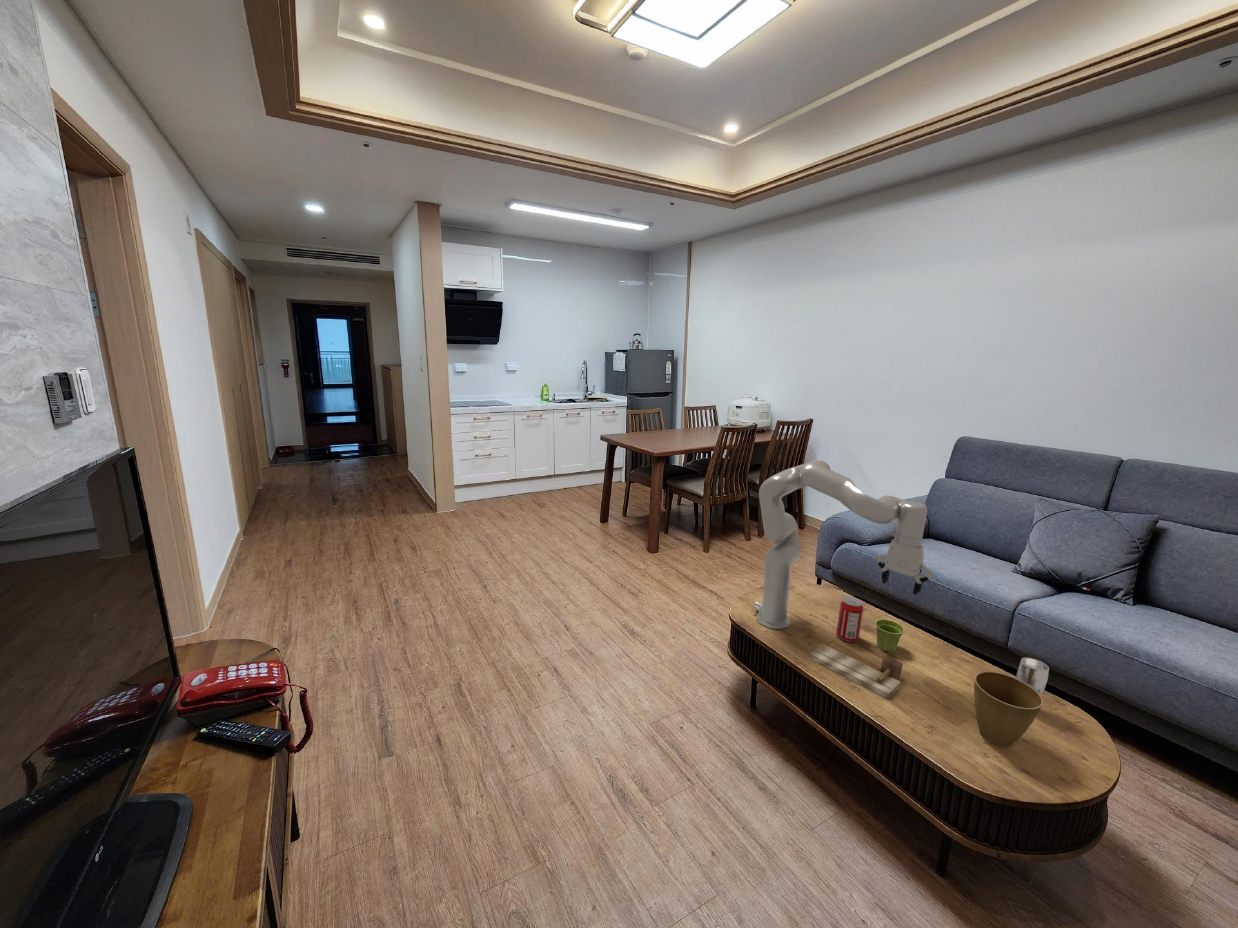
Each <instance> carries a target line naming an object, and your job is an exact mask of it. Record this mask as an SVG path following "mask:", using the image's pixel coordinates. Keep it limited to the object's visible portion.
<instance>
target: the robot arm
mask: <svg viewBox="0 0 1238 928" xmlns="http://www.w3.org/2000/svg"><path fill="white" fill-rule="evenodd" d="M806 487H809V488H811V489H813V490H815V491H817V492H820V493H822V494H824V495H826V496H829V497H830V498H832V499H834V500H837V501H838V502H840V503H841V505H843V506H845V507H846V508H847V509H848V510H850V511H851V512H852V513H854V514H855V515H857V516H860V517H862V518H863V519H865V520H868V521H870V522H873V523H875V524H877V525H888V524H890V523H892V522H893V521H894V520H895V519H896V520H897V526H896V531H891V532H890V535H891V536H893V537H894V538H893V539H892V540H891V541H890V543H889V547H888V550H887V552H886V553H885V554H878V555H877V556H875V558H876V561H877V565H878V566H879V568H880V569H881V570H880V571H881V581H882V584H886V583H888V582H889V577H890V571H891V572H892V571H893V572H896V573H897V574H901V575H903V576H906V577H911V578H914V580H915V581H916V582H914V587H913V590H912V591H913V592H912V594H913V595H915V596H916V595H918V593H921V591H922V586H923V583H925V582H928V581H929V580H930V579H931V578H932V577H933V576H934V575H935V574H934V572H933V571H932V570H930V569H929V567H927V566H926V565H924V546H923V545H922V542H923V537H924V532H925V531H924V530H925V526H926V521H927V520H926V519H927V514H928V507H927V505H926V504H924V503H922V502H919V501H912V500H905V499H902V498H899V497H896V496H893V495H883V496H881V497H879V498H876V497H875V498H874V497H872V496H870V495H868V494H866V493H864V492H863V491H861V489H859V488H858V487H857V486H856V484H855V483H854V481H853V480H852V479H851V478H850V477H848V476H845V475H843V474H840V473H839V472H836V471H834V470H832V469H831V467H830V464H828V463H827V462H825V461H824V460H821V459H815V460H812V461H809V462H805V463H803V464H800V465H797V466H793V467H791V468H787V469H784V470H782V471H780V472H778V473H776V474H774V475H772V476H770V477H768V478H767V479H766V480H764V481H763V482H762V484H761V485H760V487H759V492H758V497H759V498H758V499H759V505H760V512H761V519H762V520H761V521H762V525H763V526H762V527H763V532H764V536H765V539H767V541H769V543H773V544H774V545H773V546H771V547H770V548H769V549H768V550H767V552H766V553H765V556H764V580H763V581H764V582H763V583H764V584H763V592H762V600H761V601H762V602H761V603H760V602H758V601H754V604H753V609H754V610H756V611H758V613H756V620H757V621H758V623H759V624H761V625H763V626H764V627H766V628H769V629H775V630H781V629H783V630H784V629H786V628H788V627H789V626H790V624H791V619H790V618H789V617H788V615H787V613H788V606H789V599H790V597H789V596H790V588H791V567H792V566H793V564H794V563H796V561H798V559H800V556H801V552H802V551H801V543H800V537H799V536H800V533H799V529H798V527H799V526H798V524H797V521H796V519H795V517H794V516H793V515H791V514H790V513H788V512H786V511H785V505H784V502H783V500H782V498H783V497H784V496H785V497H786V496H787V495H789V494H791V493H793V492H794V491H796V490H799V489H802V488H806ZM883 560H884V561H885V562H884V561H883ZM922 572H923V573H925V576H924V577H923V576H922Z"/></svg>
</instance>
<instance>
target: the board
mask: <svg viewBox="0 0 1238 928" xmlns="http://www.w3.org/2000/svg"><path fill="white" fill-rule="evenodd" d="M809 654H810V655H809V660H811V661H813V662H815V663H817V664H819V665H820V666H823V667H824V668H827V669H829V671H830V670H831V671H832V672H835V673H836V674H838V675H840V676H842V677H844V678H846V679H849V680H850V681H852V682H854V683H856V684H858V685H859V686H862V687H863V688H866V689H867V690H869V691H871V692H873V693H875V694H877V695H878V696H880V697H883V698H885V699H886V700H889V699H890V698H891V697H892V696H893V694H895V693H896V691H898V689H899V688H900V687H901V681H900V680H899V681H898V680H896V679H894V678H892V677H890V676H887V677H886V678H885V679H884V680H883V682H882V683H880V682H878V681H877V678H878V677H879V676H880V675H881V674H883V673H882V672H880V671H881V670H880V671H879V670H878V669H875V668H873V667H871V666H869V665H867V664H865V663H863V662H861V661H859V660H856V659H854V658H853V657H851V656H848V655H847V654H844V653H842V652H841V651H838V650H836V649H835V648H832V647H830V646H828V645H825V644H824V643H823V644H821V646H819V647H817V648H816V649H815V650H812V652H810V653H809Z"/></svg>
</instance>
